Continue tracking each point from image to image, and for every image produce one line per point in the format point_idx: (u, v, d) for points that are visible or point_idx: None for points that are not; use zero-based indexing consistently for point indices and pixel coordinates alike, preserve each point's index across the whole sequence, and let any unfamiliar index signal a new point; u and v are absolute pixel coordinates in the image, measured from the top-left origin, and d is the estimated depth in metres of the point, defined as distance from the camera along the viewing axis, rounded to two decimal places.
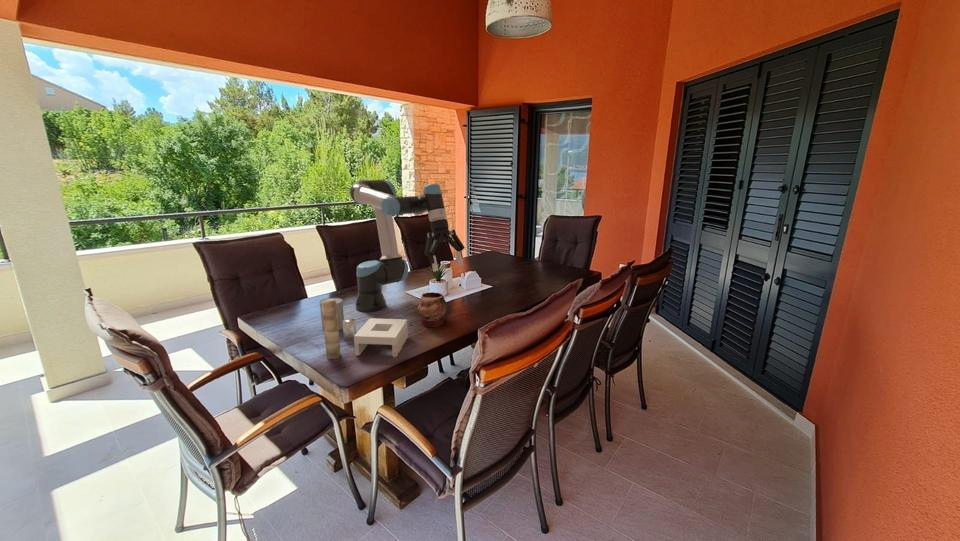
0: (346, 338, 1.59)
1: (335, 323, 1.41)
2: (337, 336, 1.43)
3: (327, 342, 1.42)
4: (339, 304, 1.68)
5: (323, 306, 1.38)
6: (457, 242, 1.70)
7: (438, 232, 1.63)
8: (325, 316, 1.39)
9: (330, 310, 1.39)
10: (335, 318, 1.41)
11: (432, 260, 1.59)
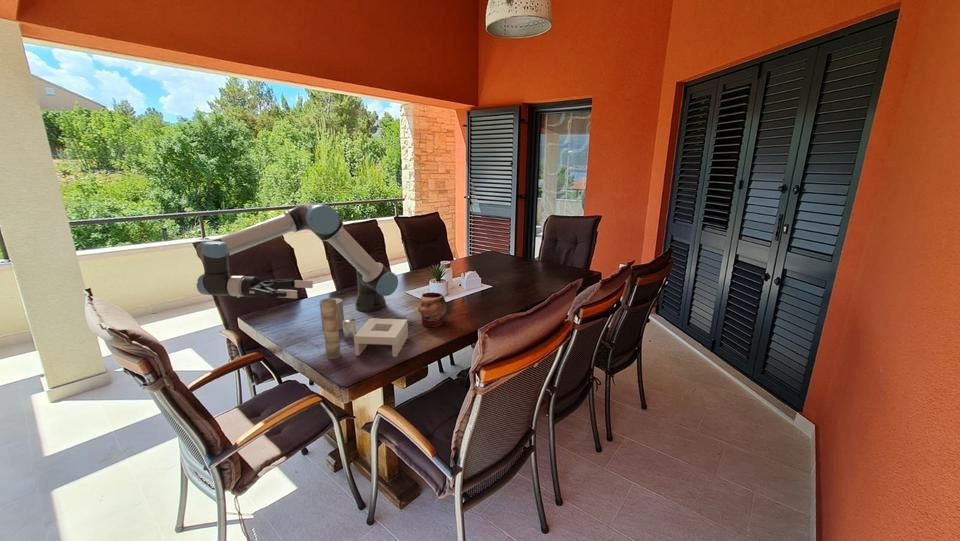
0: (346, 338, 1.59)
1: (335, 323, 1.41)
2: (337, 336, 1.43)
3: (327, 342, 1.42)
4: (339, 304, 1.68)
5: (323, 306, 1.38)
6: None
7: None
8: (325, 316, 1.39)
9: (330, 310, 1.39)
10: (335, 318, 1.41)
11: None
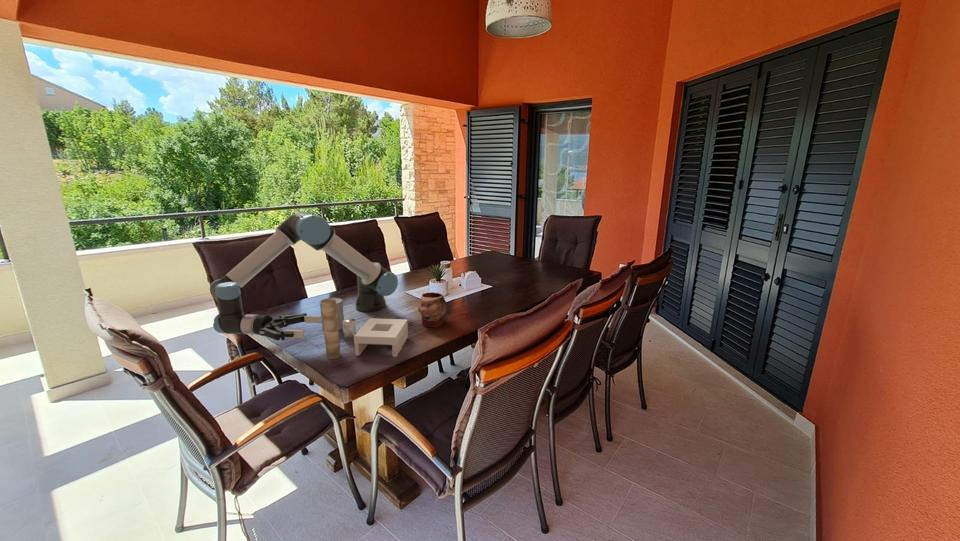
0: (346, 338, 1.59)
1: (335, 323, 1.41)
2: (337, 336, 1.43)
3: (327, 342, 1.42)
4: (339, 304, 1.68)
5: (323, 306, 1.38)
6: None
7: None
8: (325, 316, 1.39)
9: (330, 310, 1.39)
10: (335, 318, 1.41)
11: None
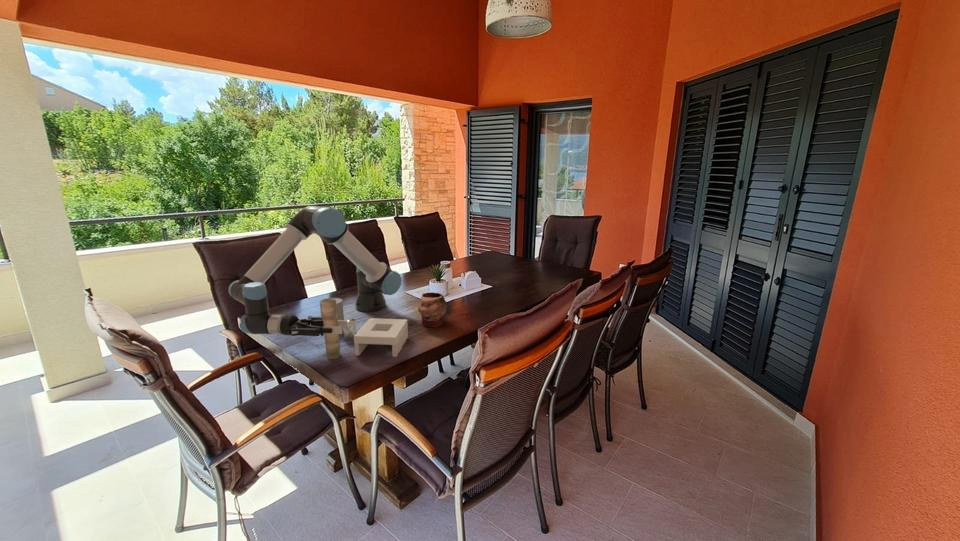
0: (346, 338, 1.59)
1: (335, 323, 1.41)
2: (337, 336, 1.43)
3: (327, 342, 1.42)
4: (339, 304, 1.68)
5: (323, 306, 1.38)
6: None
7: None
8: (325, 316, 1.39)
9: (330, 310, 1.39)
10: (335, 318, 1.41)
11: None
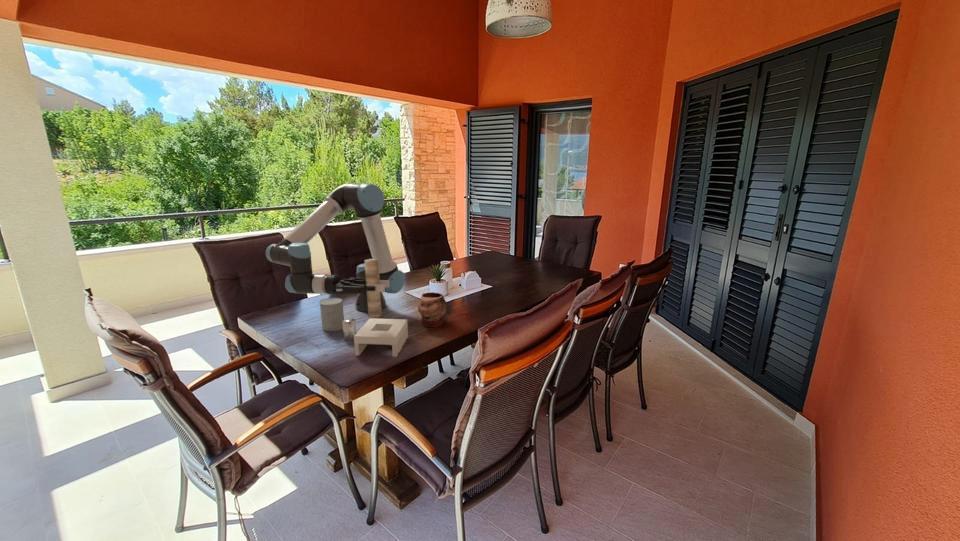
0: (346, 338, 1.59)
1: (377, 282, 1.45)
2: (379, 295, 1.47)
3: (369, 300, 1.46)
4: (339, 304, 1.68)
5: (366, 264, 1.42)
6: None
7: None
8: (368, 274, 1.43)
9: (373, 268, 1.42)
10: (377, 277, 1.45)
11: None
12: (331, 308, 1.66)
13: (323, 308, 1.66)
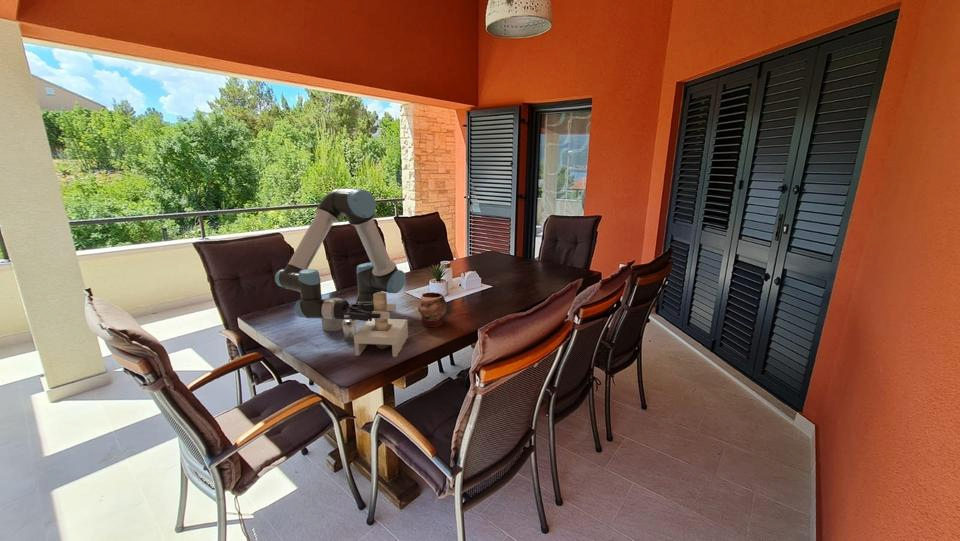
0: (346, 338, 1.59)
1: None
2: (387, 327, 1.52)
3: None
4: None
5: (375, 298, 1.47)
6: None
7: None
8: (377, 308, 1.48)
9: (382, 302, 1.47)
10: (385, 310, 1.50)
11: None
12: None
13: None
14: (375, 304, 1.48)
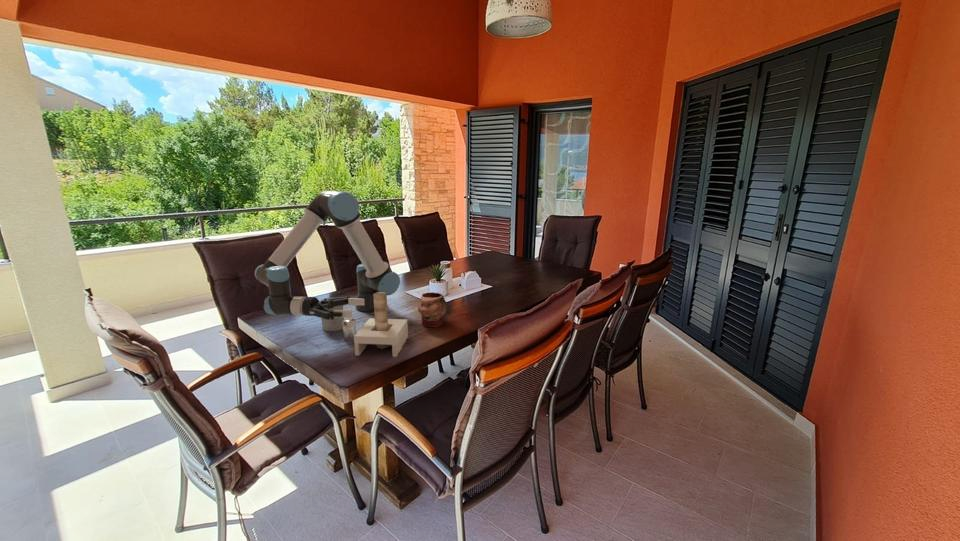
0: (346, 338, 1.59)
1: (386, 315, 1.50)
2: (387, 327, 1.52)
3: None
4: None
5: (375, 298, 1.47)
6: None
7: None
8: (377, 308, 1.48)
9: (382, 302, 1.48)
10: (386, 310, 1.50)
11: None
12: None
13: None
14: (375, 304, 1.48)
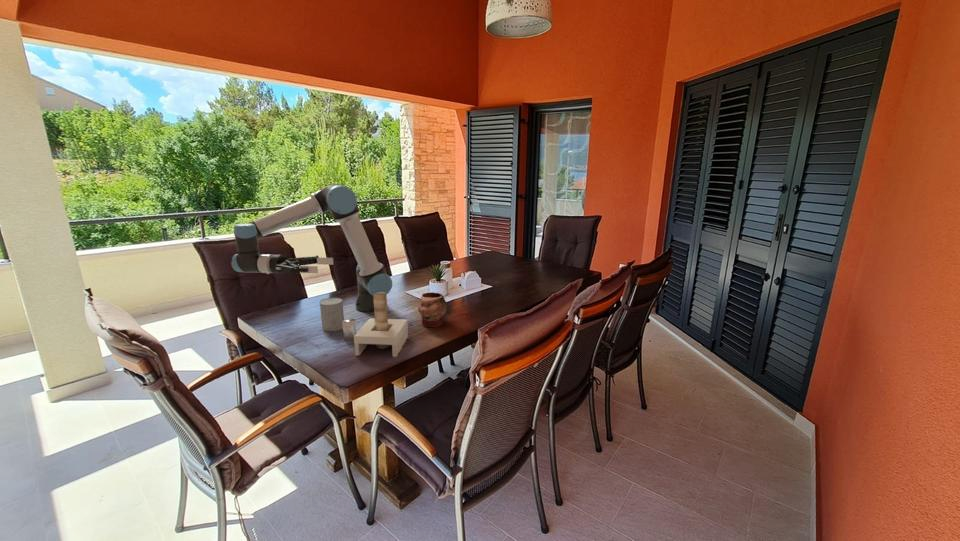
0: (346, 338, 1.59)
1: (385, 315, 1.50)
2: (387, 327, 1.52)
3: None
4: (339, 304, 1.68)
5: (375, 298, 1.47)
6: None
7: None
8: (377, 308, 1.48)
9: (382, 302, 1.48)
10: (386, 310, 1.50)
11: None
12: (331, 308, 1.66)
13: (323, 308, 1.66)
14: (375, 304, 1.48)
